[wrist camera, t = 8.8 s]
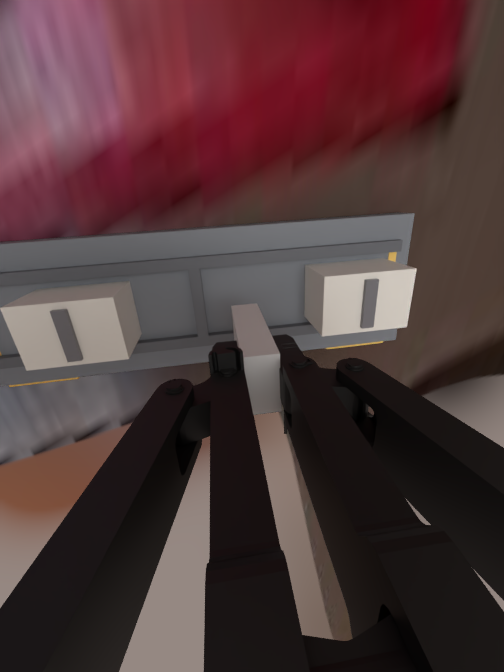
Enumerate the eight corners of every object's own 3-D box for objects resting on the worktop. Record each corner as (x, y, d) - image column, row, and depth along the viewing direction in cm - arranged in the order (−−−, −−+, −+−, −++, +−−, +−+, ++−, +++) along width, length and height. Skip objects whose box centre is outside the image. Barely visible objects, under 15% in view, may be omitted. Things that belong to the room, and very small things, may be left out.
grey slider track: (9, 376, 24) (-12, 394, 22) (-51, 245, 20) (-85, 251, 18) (382, 333, 27) (399, 345, 25) (398, 212, 23) (419, 213, 21)
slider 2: (304, 316, 24) (323, 338, 20) (305, 264, 22) (326, 277, 18) (376, 308, 24) (409, 328, 20) (382, 258, 22) (419, 269, 19)
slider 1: (56, 342, 22) (23, 373, 18) (37, 289, 20) (-4, 309, 16) (141, 333, 22) (127, 361, 18) (129, 280, 21) (111, 298, 17)
